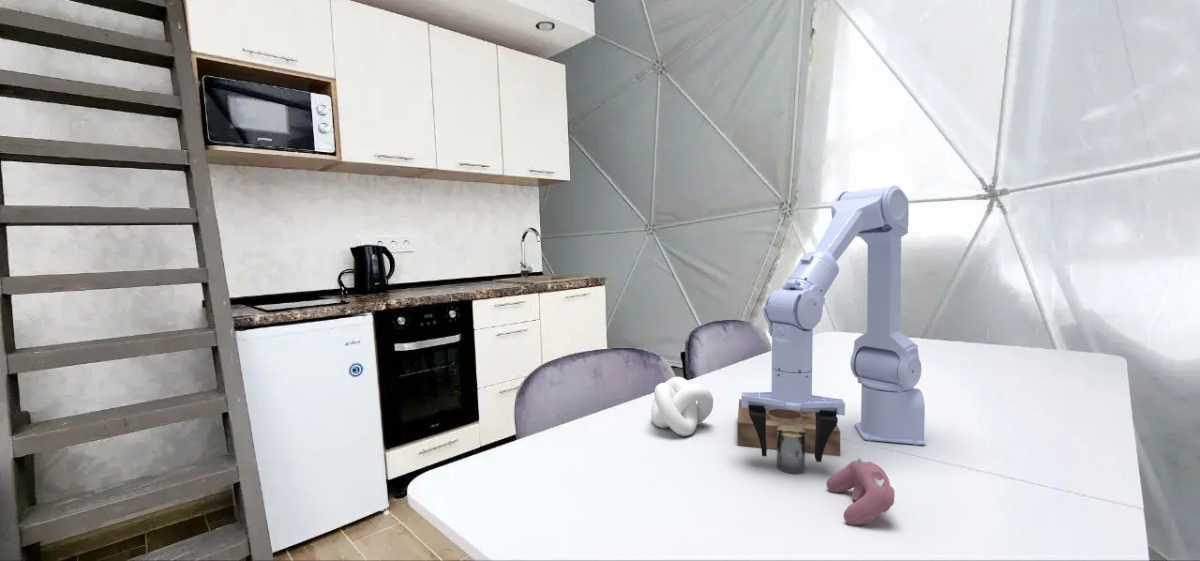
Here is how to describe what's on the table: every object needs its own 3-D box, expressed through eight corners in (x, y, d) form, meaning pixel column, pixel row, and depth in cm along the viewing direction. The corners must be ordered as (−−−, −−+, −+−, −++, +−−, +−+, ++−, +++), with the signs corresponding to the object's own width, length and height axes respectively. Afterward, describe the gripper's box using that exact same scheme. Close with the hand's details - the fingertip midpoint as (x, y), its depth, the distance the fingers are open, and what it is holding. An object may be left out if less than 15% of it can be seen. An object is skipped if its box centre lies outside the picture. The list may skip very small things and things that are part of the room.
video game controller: (878, 542, 58) (909, 493, 57) (842, 522, 59) (871, 473, 58) (853, 501, 68) (879, 459, 67) (822, 484, 69) (847, 442, 68)
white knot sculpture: (705, 417, 99) (705, 373, 98) (721, 439, 87) (721, 389, 86) (649, 418, 99) (648, 374, 98) (657, 441, 87) (657, 391, 86)
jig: (827, 426, 93) (827, 405, 93) (840, 455, 79) (840, 431, 79) (739, 419, 97) (739, 399, 97) (737, 445, 84) (737, 422, 84)
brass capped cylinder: (803, 464, 76) (803, 426, 76) (806, 475, 73) (806, 435, 72) (775, 461, 78) (776, 424, 77) (777, 472, 74) (777, 433, 73)
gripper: (741, 371, 73) (740, 461, 73) (849, 378, 68) (848, 473, 69) (742, 361, 79) (741, 444, 80) (840, 366, 75) (839, 453, 76)
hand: (790, 456), depth 75 cm, fingers open, 7 cm apart
